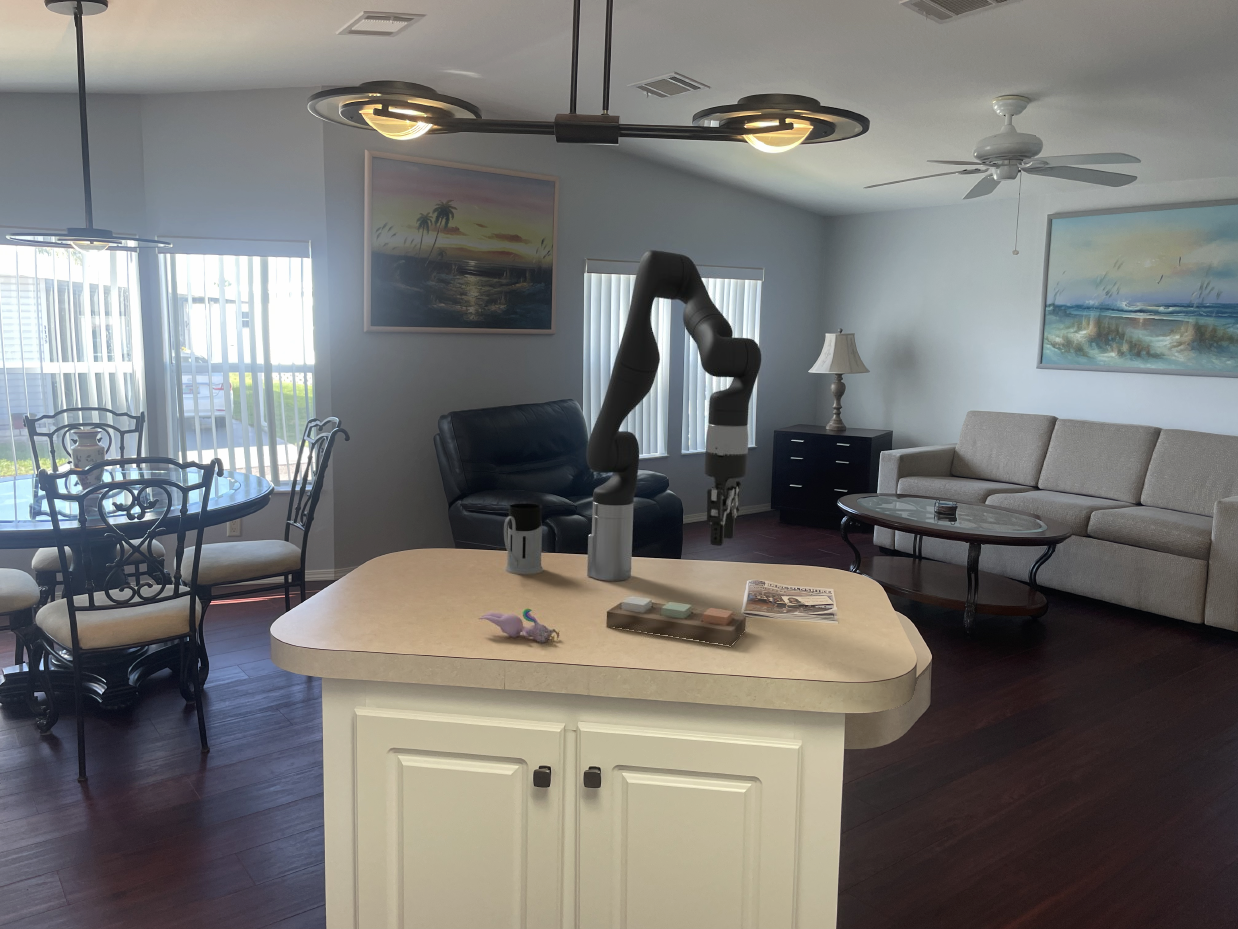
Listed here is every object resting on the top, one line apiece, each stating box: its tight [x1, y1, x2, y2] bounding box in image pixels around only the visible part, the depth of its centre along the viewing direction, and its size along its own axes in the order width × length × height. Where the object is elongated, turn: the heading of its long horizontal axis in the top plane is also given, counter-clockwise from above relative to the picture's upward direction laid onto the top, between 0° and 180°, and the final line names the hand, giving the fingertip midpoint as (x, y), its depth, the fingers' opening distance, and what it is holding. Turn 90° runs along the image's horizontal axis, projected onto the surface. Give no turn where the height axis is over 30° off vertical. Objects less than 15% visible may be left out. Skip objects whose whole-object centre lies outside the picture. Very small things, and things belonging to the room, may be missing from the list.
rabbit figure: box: [478, 608, 560, 645], centre depth 160 cm, size 6×6×15 cm
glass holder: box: [503, 502, 544, 575], centre depth 205 cm, size 9×14×15 cm, turn 159°
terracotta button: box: [703, 607, 734, 625], centre depth 164 cm, size 4×4×3 cm
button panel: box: [605, 601, 747, 647], centre depth 168 cm, size 24×10×3 cm, turn 68°
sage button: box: [661, 601, 693, 619], centre depth 167 cm, size 4×4×3 cm
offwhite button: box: [621, 595, 653, 613], centre depth 170 cm, size 4×4×3 cm
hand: (722, 541), depth 162 cm, fingers open, 6 cm apart
